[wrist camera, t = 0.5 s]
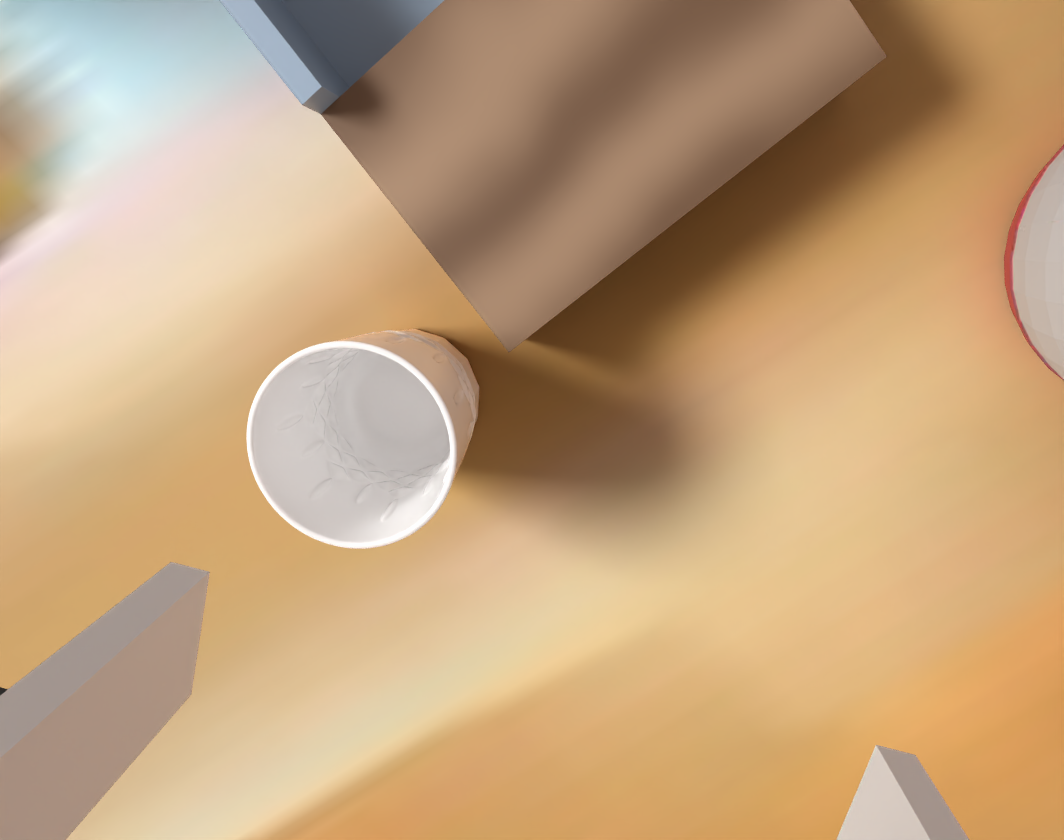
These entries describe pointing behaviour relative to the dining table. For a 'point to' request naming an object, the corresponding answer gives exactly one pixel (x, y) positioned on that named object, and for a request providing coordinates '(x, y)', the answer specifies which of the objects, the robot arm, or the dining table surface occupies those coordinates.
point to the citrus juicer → (1039, 264)
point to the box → (326, 39)
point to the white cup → (363, 435)
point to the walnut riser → (582, 128)
